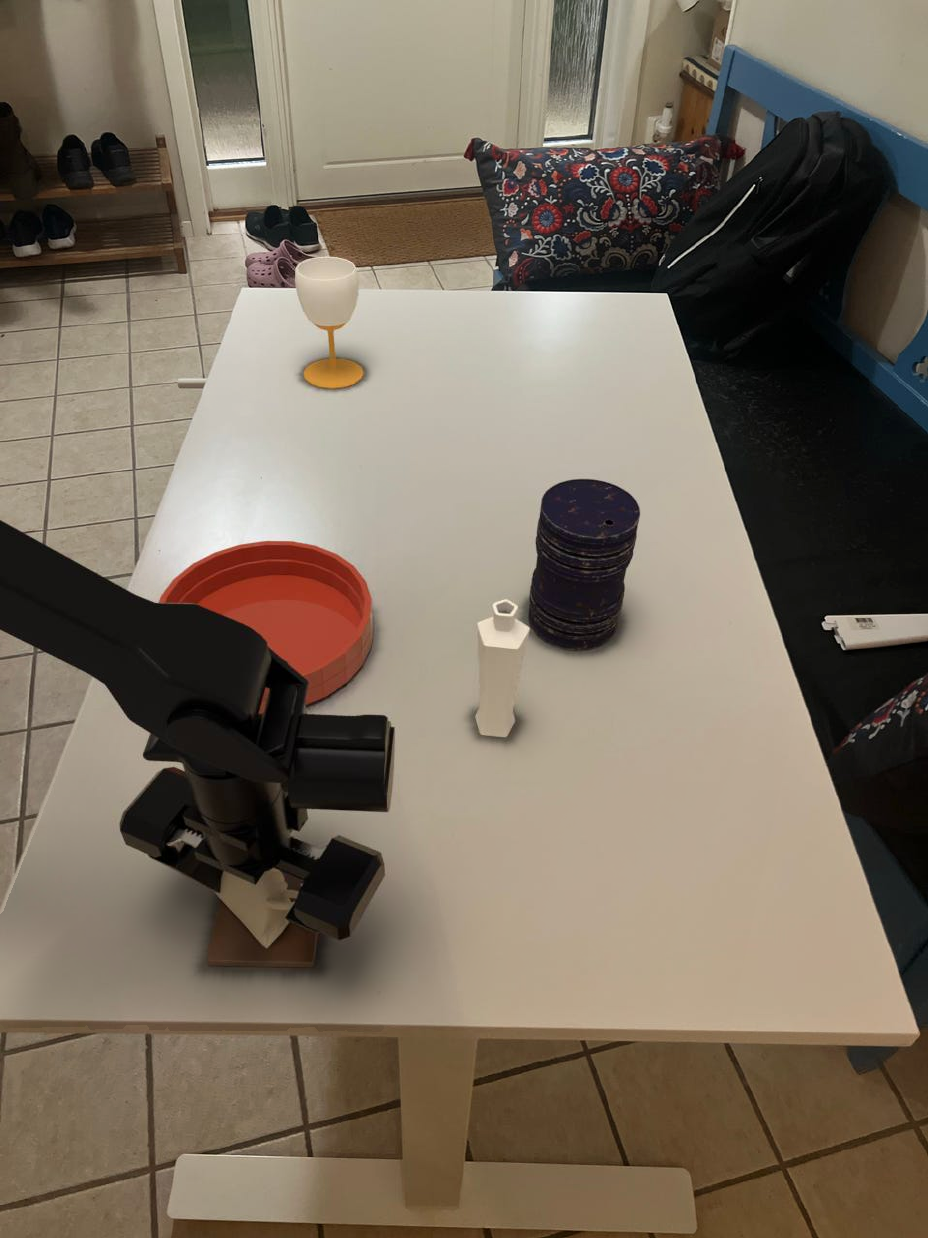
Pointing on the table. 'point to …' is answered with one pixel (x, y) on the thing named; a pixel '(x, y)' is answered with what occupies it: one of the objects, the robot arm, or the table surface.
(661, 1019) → the table surface
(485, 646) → the perfume bottle
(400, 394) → the table surface
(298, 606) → the bowl
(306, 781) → the robot arm
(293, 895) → the decorative ornament
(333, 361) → the cup
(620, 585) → the dark oil barrel
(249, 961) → the coaster
